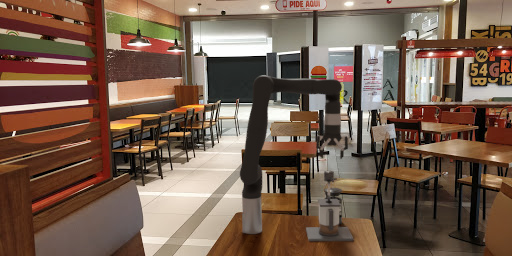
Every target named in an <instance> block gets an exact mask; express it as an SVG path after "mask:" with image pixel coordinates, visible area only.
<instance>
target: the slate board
mask: <svg viewBox="0 0 512 256" xmlns="http://www.w3.org/2000/svg"><path fill="white" fill-rule="evenodd" d="M319 229H320V226H316V227H315V226H313V227H311V226H309V227H308V226H307V227H305V232H306V235H307V238H308V239H307V241H308V242H354V237H353V235H352V233H351V230H350V229H349V227H348V226H338V230H339V234H338V235H337V236H332V237H328V236H323V235H320V234H319Z"/></svg>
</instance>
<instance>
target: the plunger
mask: <svg viewBox="0 0 512 256" xmlns="http://www.w3.org/2000/svg"><path fill="white" fill-rule="evenodd" d="M334 178H335V173H334V171H333V170H326V171H325V170H324V172H323V181H324V182H327V188H328V196H327V197H328V203H330V197H331V196H330V188H331V182H332V181H334V182H335V180H334ZM332 183H333V182H332Z"/></svg>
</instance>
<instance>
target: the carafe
mask: <svg viewBox="0 0 512 256" xmlns="http://www.w3.org/2000/svg"><path fill="white" fill-rule="evenodd" d="M317 203H318V223H319V227H320V229H319V234H320V235H323V236H328V237H332V236H337V235H338V234H339V230H338V227H339V225H338V224H339V214H340V213H339V209H340V208H341V204H340V203H339V200H338V199H330V203H328V199H324V198H317Z"/></svg>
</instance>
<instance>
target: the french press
mask: <svg viewBox="0 0 512 256" xmlns="http://www.w3.org/2000/svg"><path fill="white" fill-rule="evenodd" d="M336 180H338V178H337V177H334V181H332V183H335V181H336ZM323 191H324V195H325V196H326V197H324V198H323V199H328V187H326V188H323ZM342 192H343V190H342V189H341V188H339V187H330V199H338V201H339V203H340V205H341V207H340V208H339V224H338V226H341V225H342V224H343V199H342V198H341V197H339V196H340V194H341V193H342ZM340 213H341V214H340Z"/></svg>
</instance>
